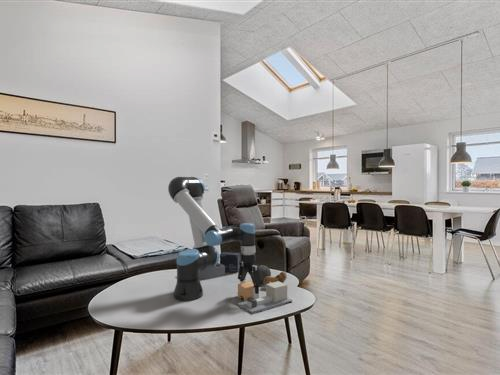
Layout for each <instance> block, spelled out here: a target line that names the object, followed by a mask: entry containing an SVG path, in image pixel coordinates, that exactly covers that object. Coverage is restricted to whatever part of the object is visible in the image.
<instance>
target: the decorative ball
mask: <svg viewBox="0 0 500 375" xmlns="http://www.w3.org/2000/svg"><path fill="white" fill-rule="evenodd" d="M257 266H258V271H259V275H260V280H261V284H263V282H264V279H265V277H267V276H271V277H272V272H271V269H270V268H269V267H268V266H267V265H257ZM265 281H266V280H265Z"/></svg>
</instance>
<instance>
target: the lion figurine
mask: <svg viewBox="0 0 500 375" xmlns="http://www.w3.org/2000/svg"><path fill="white" fill-rule="evenodd" d="M265 280H266V281H265ZM286 280H287V272H285V271H281V272H280V273H279V274H277V275H276V276H272V275H271V276H267V277H265V279H264V282H263V283H262V286H260V287H261V288H263V287H264V288H266V284H269V283H273V282H277V281H279V282H281V283H285V281H286Z"/></svg>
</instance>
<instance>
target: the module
mask: <svg viewBox="0 0 500 375" xmlns="http://www.w3.org/2000/svg"><path fill="white" fill-rule="evenodd" d="M253 286H254V284H253V282H252V280H251V281H246V282H245V283H241V284H240V283H238V284H237V299H243V302H244V301H247V298H249V297H252V298H253Z"/></svg>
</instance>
